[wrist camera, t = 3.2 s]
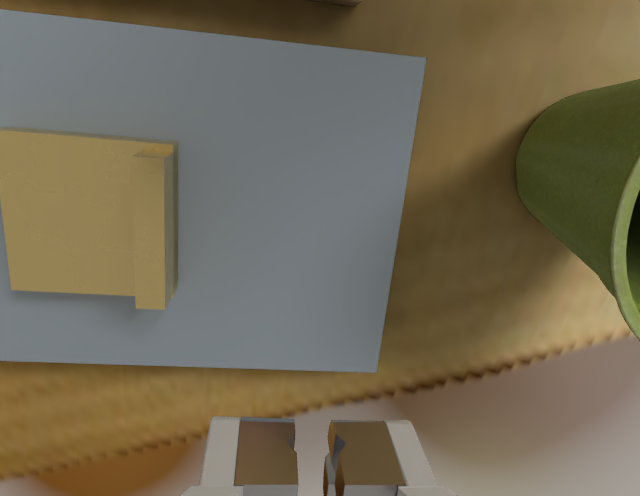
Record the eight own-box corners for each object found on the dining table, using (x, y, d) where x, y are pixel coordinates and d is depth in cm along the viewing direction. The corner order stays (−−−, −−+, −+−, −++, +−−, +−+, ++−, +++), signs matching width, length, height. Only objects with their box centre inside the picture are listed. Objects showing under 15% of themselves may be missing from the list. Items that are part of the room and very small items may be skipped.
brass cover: (178, 141, 21) (163, 150, 18) (178, 287, 23) (164, 316, 20) (7, 126, 20) (-36, 134, 17) (24, 279, 22) (-12, 308, 20)
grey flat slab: (411, 59, 23) (426, 57, 21) (367, 348, 28) (376, 372, 26) (-87, 3, 21) (-133, -6, 18) (-34, 333, 26) (-64, 358, 23)
